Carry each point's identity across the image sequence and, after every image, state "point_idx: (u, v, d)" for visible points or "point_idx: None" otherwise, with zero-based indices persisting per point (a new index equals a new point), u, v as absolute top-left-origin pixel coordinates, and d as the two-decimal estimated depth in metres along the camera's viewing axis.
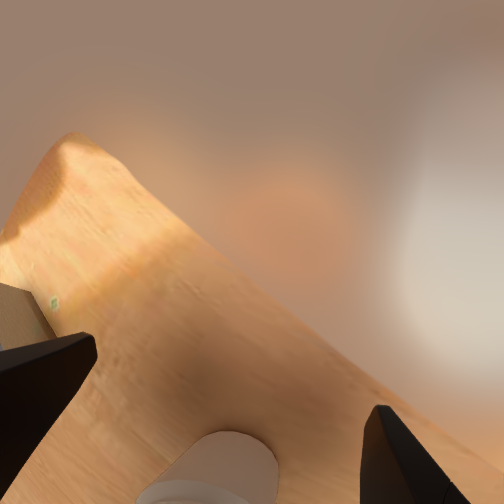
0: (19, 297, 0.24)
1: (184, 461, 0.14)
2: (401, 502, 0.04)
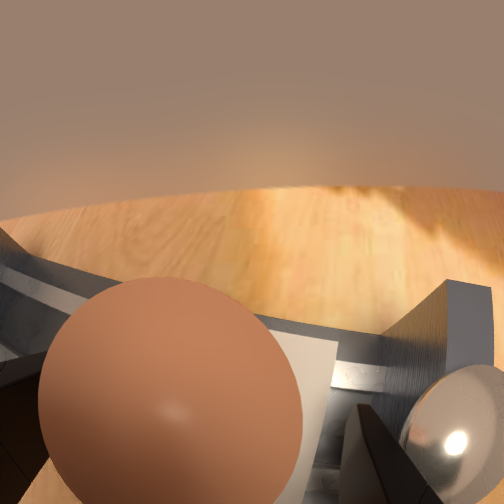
0: None
1: None
2: (375, 503, 0.04)
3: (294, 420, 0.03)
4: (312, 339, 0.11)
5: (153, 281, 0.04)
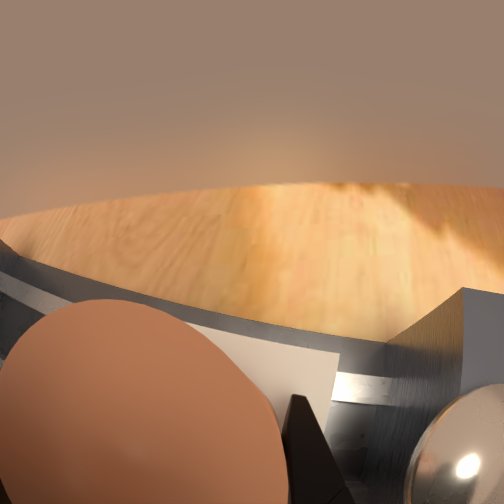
0: None
1: None
2: None
3: (277, 490, 0.02)
4: (311, 351, 0.10)
5: (103, 304, 0.03)
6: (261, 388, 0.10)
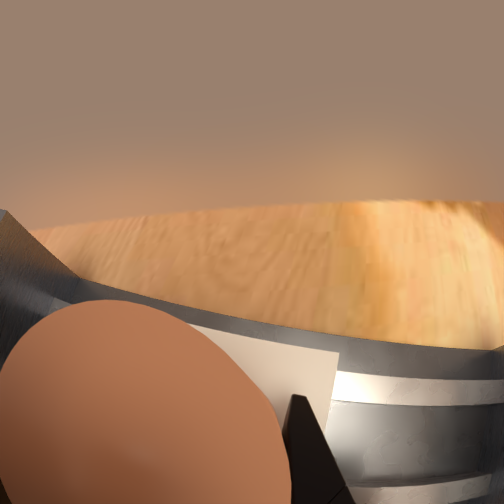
0: None
1: None
2: None
3: (280, 489, 0.02)
4: (311, 350, 0.10)
5: (103, 304, 0.03)
6: (261, 388, 0.10)
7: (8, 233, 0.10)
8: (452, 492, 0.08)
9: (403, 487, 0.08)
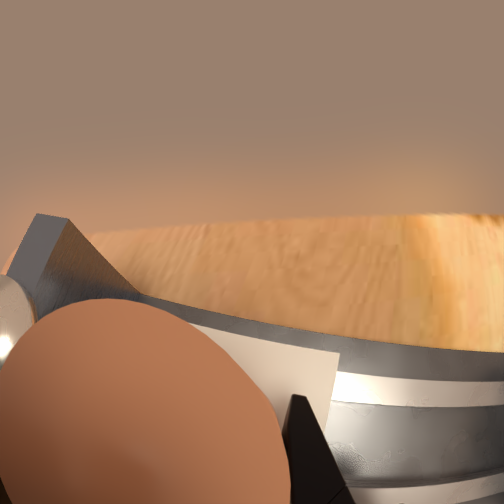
0: None
1: None
2: None
3: (279, 489, 0.02)
4: (311, 350, 0.10)
5: (104, 303, 0.03)
6: (261, 388, 0.10)
7: (69, 247, 0.09)
8: None
9: (477, 479, 0.08)
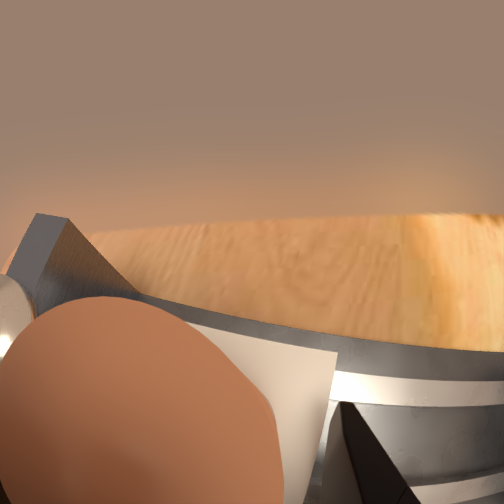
0: None
1: None
2: (352, 503, 0.04)
3: (273, 487, 0.02)
4: (309, 350, 0.10)
5: (100, 301, 0.03)
6: (259, 387, 0.10)
7: (69, 247, 0.09)
8: None
9: (477, 478, 0.08)
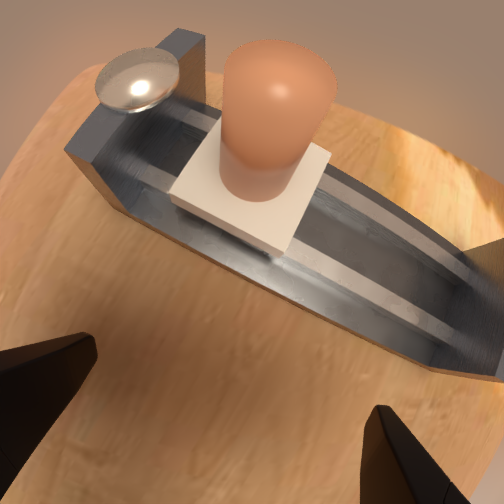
0: None
1: None
2: (401, 502, 0.04)
3: (334, 88, 0.09)
4: (316, 146, 0.17)
5: (289, 42, 0.10)
6: None
7: (198, 50, 0.15)
8: (431, 324, 0.18)
9: (405, 300, 0.18)
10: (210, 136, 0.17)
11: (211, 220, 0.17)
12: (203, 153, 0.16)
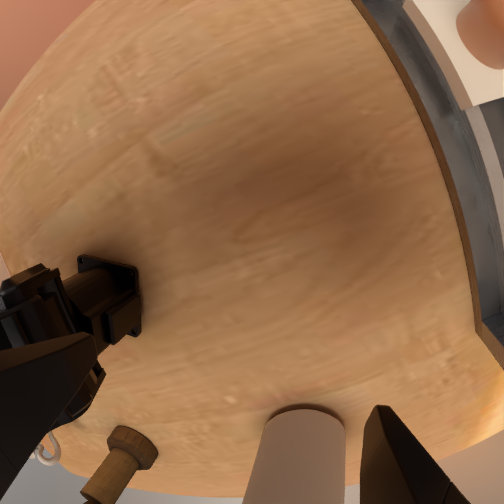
0: None
1: (343, 492, 0.17)
2: (401, 502, 0.04)
3: None
4: None
5: None
6: None
7: None
8: None
9: None
10: None
11: (428, 40, 0.11)
12: None
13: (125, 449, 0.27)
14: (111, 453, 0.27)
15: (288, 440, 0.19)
